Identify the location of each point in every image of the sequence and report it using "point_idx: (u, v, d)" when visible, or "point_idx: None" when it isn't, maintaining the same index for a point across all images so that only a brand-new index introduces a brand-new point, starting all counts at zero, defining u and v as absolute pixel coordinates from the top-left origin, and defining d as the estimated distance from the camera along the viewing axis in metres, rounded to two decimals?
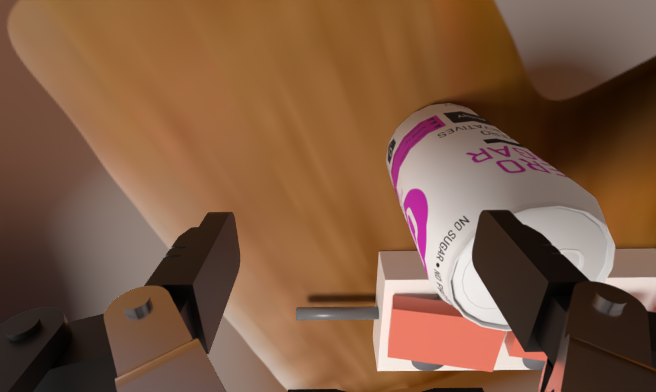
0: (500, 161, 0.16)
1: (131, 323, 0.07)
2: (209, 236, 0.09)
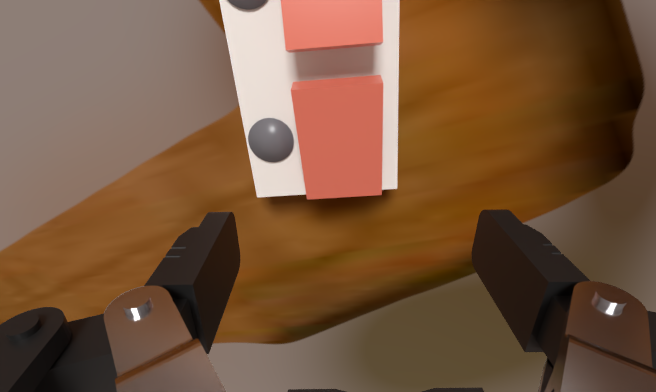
0: None
1: (131, 323, 0.07)
2: (209, 236, 0.09)
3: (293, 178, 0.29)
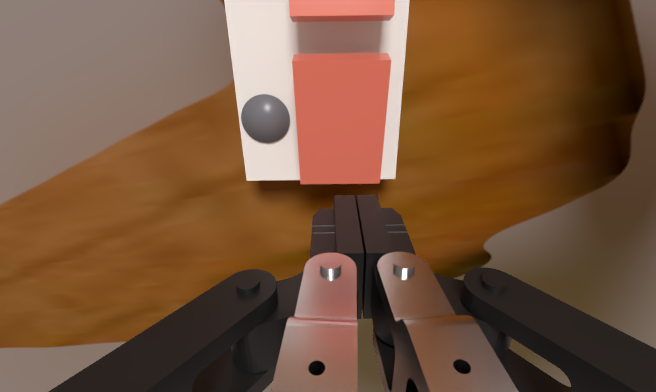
0: None
1: (335, 282, 0.08)
2: (350, 214, 0.10)
3: (287, 162, 0.27)
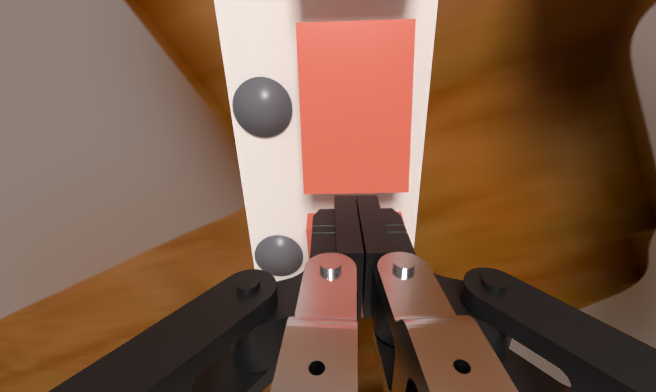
0: None
1: (335, 282, 0.08)
2: (350, 214, 0.10)
3: None
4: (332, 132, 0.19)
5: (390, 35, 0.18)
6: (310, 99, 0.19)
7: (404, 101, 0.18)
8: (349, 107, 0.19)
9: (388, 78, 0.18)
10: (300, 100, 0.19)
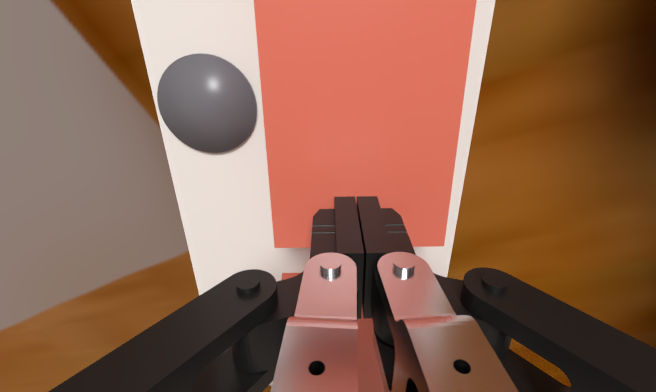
0: None
1: (335, 282, 0.08)
2: (350, 215, 0.10)
3: None
4: (321, 152, 0.11)
5: None
6: (281, 94, 0.10)
7: (448, 100, 0.10)
8: (350, 108, 0.10)
9: (423, 57, 0.10)
10: (263, 96, 0.10)
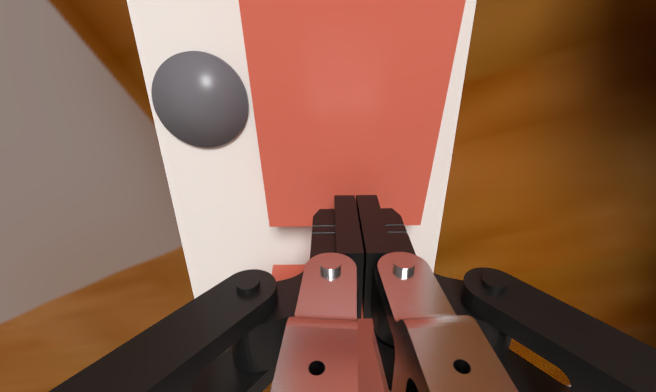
0: None
1: (335, 282, 0.08)
2: (350, 215, 0.10)
3: None
4: (310, 149, 0.12)
5: None
6: (271, 97, 0.11)
7: (430, 103, 0.11)
8: (338, 110, 0.11)
9: (409, 64, 0.10)
10: (254, 98, 0.11)
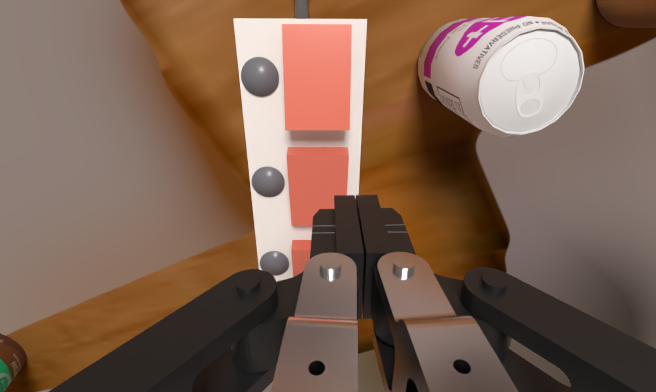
0: None
1: (335, 282, 0.08)
2: (350, 214, 0.10)
3: None
4: (306, 201, 0.37)
5: (335, 161, 0.34)
6: (294, 187, 0.36)
7: (342, 188, 0.36)
8: (314, 190, 0.36)
9: (334, 179, 0.35)
10: (289, 187, 0.36)
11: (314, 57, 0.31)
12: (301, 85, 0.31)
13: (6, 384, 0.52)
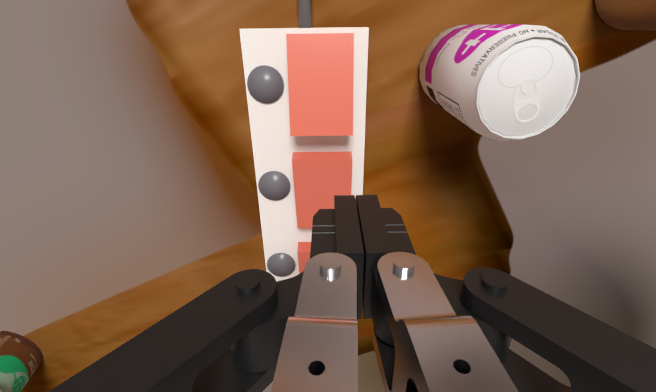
0: None
1: (335, 282, 0.08)
2: (350, 215, 0.10)
3: None
4: (311, 204, 0.38)
5: (339, 165, 0.35)
6: (299, 190, 0.37)
7: (347, 192, 0.37)
8: (319, 194, 0.37)
9: (339, 182, 0.36)
10: (294, 191, 0.37)
11: (318, 65, 0.32)
12: (305, 92, 0.32)
13: (24, 383, 0.54)
